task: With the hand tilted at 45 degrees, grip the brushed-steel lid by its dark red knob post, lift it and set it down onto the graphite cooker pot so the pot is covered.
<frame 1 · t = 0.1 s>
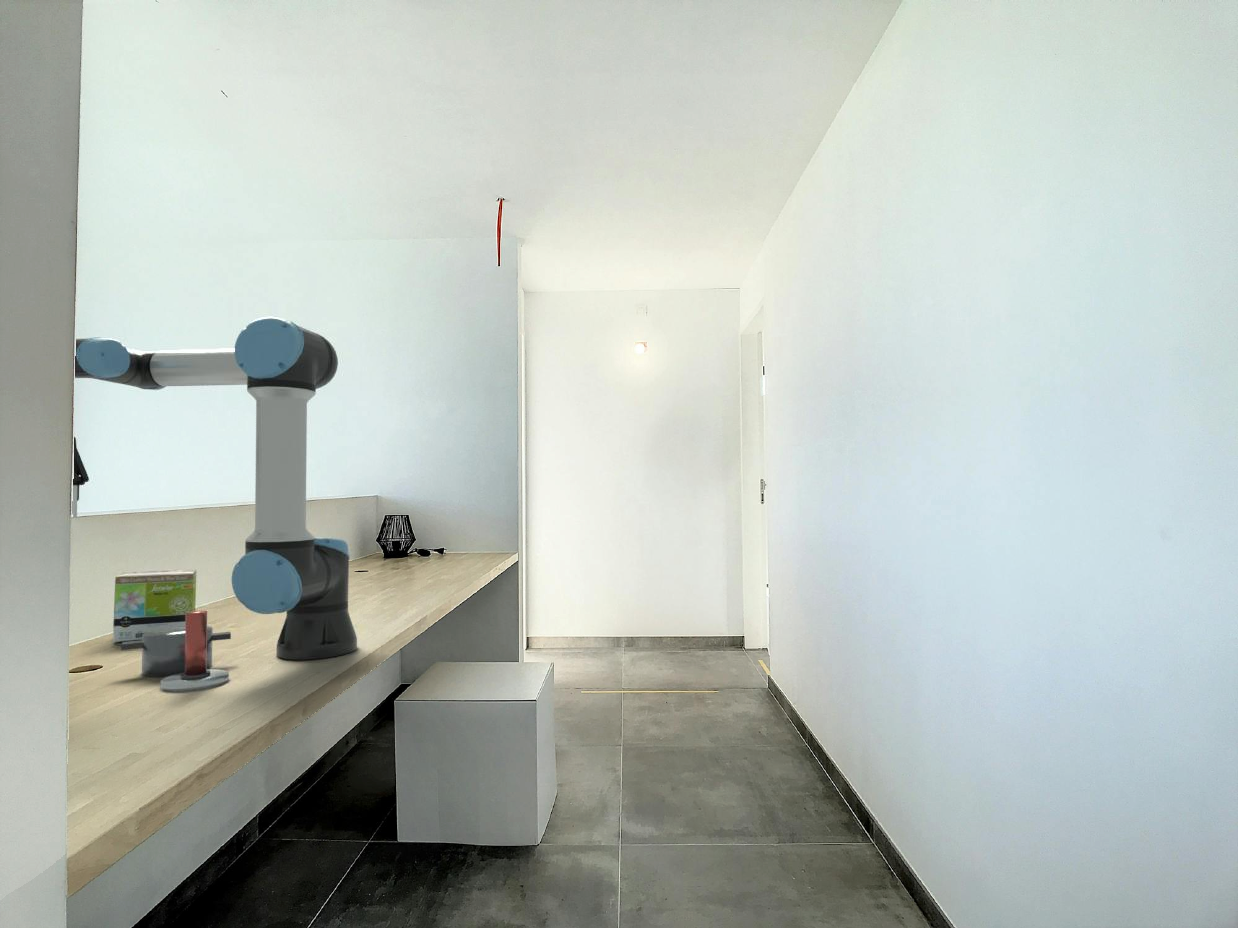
hand: (38, 519, 135), 28 cm above the table, tool pointing down, fingers open, 13 cm apart
pot: (177, 669, 130), on the table
tea box: (156, 637, 161), on the table
lid: (195, 683, 120), on the table
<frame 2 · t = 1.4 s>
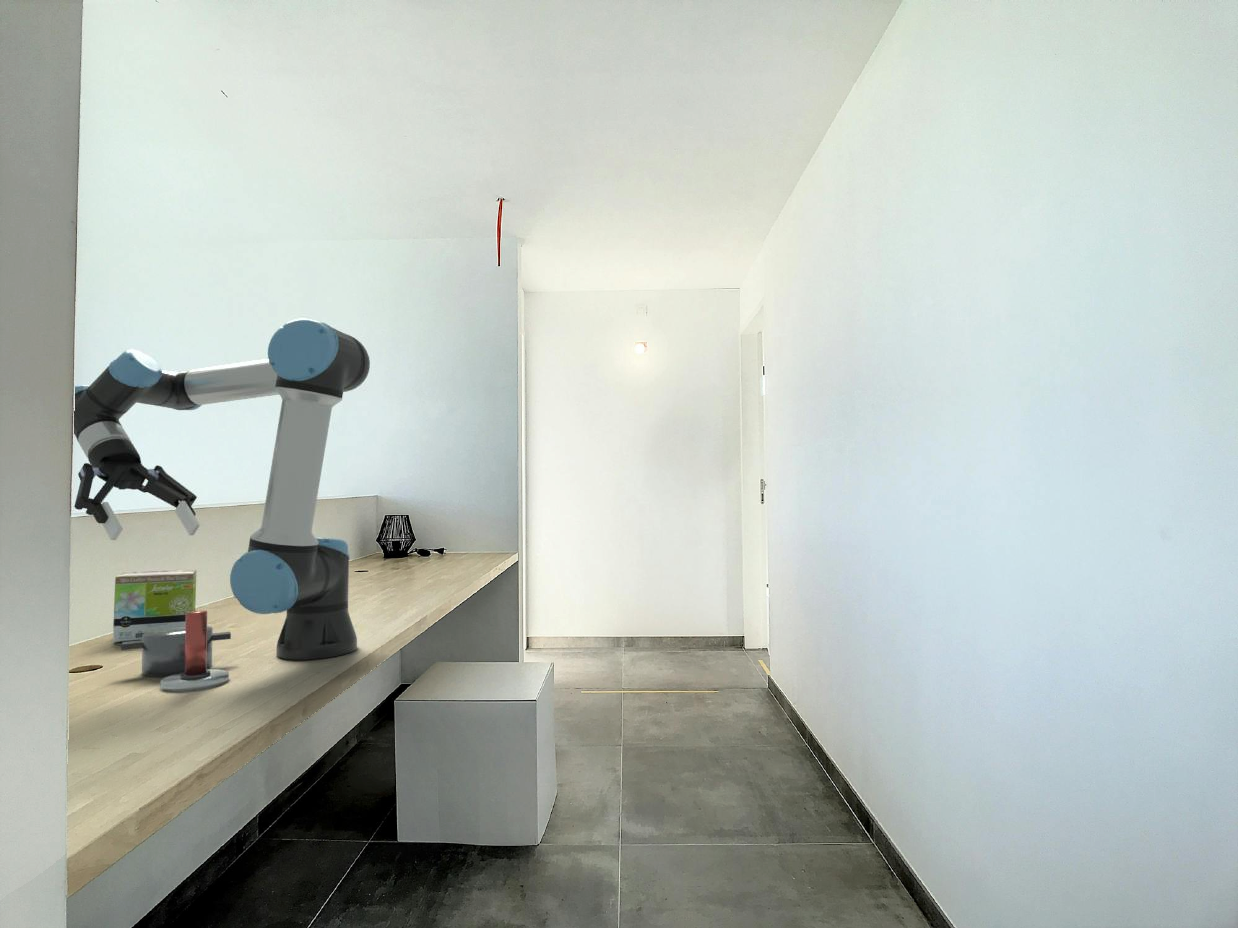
hand: (158, 532, 126), 26 cm above the table, tool tilted 45°, fingers open, 13 cm apart
nothing on the table moved.
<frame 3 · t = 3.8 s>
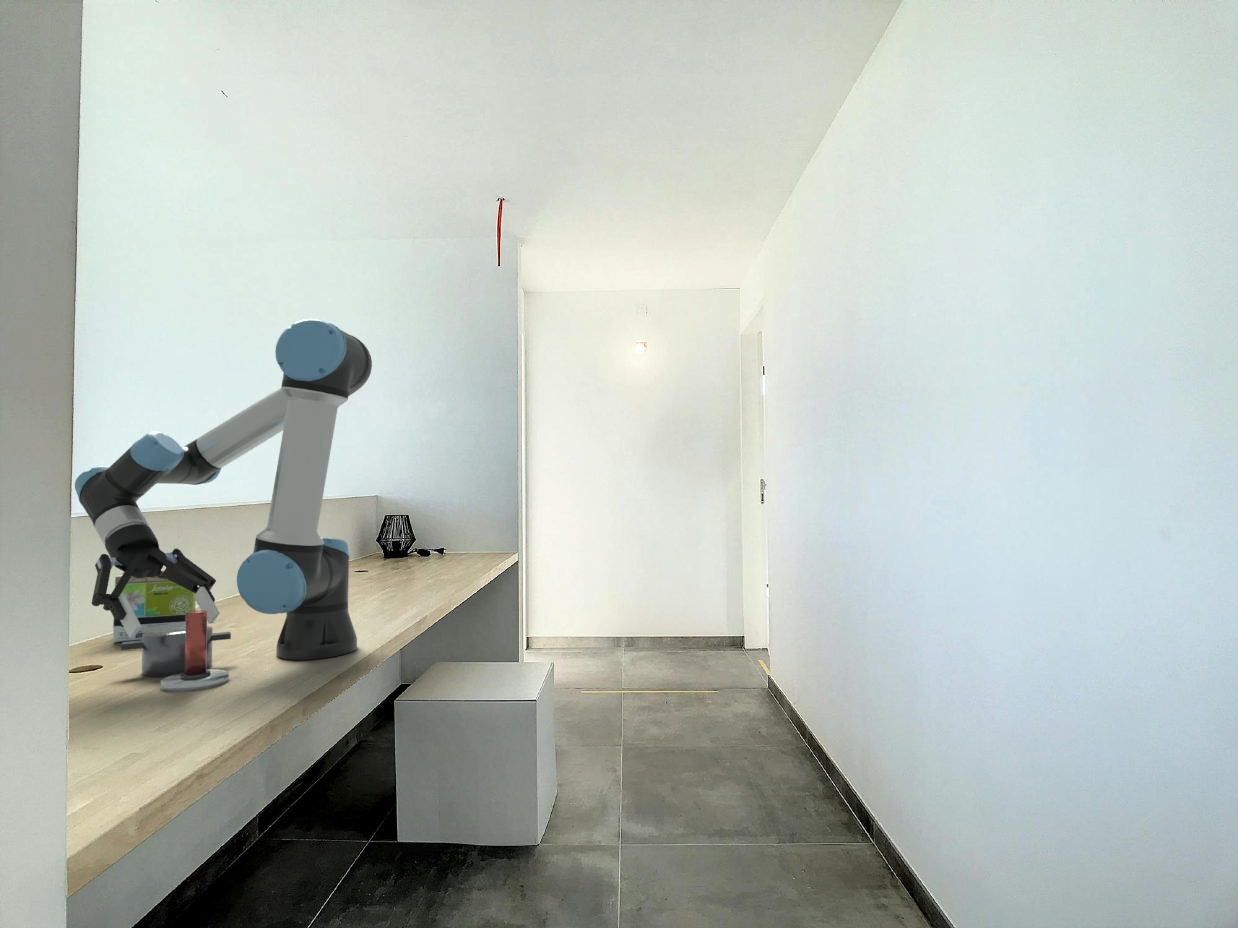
hand: (177, 625, 121), 10 cm above the table, tool tilted 45°, fingers open, 13 cm apart
nothing on the table moved.
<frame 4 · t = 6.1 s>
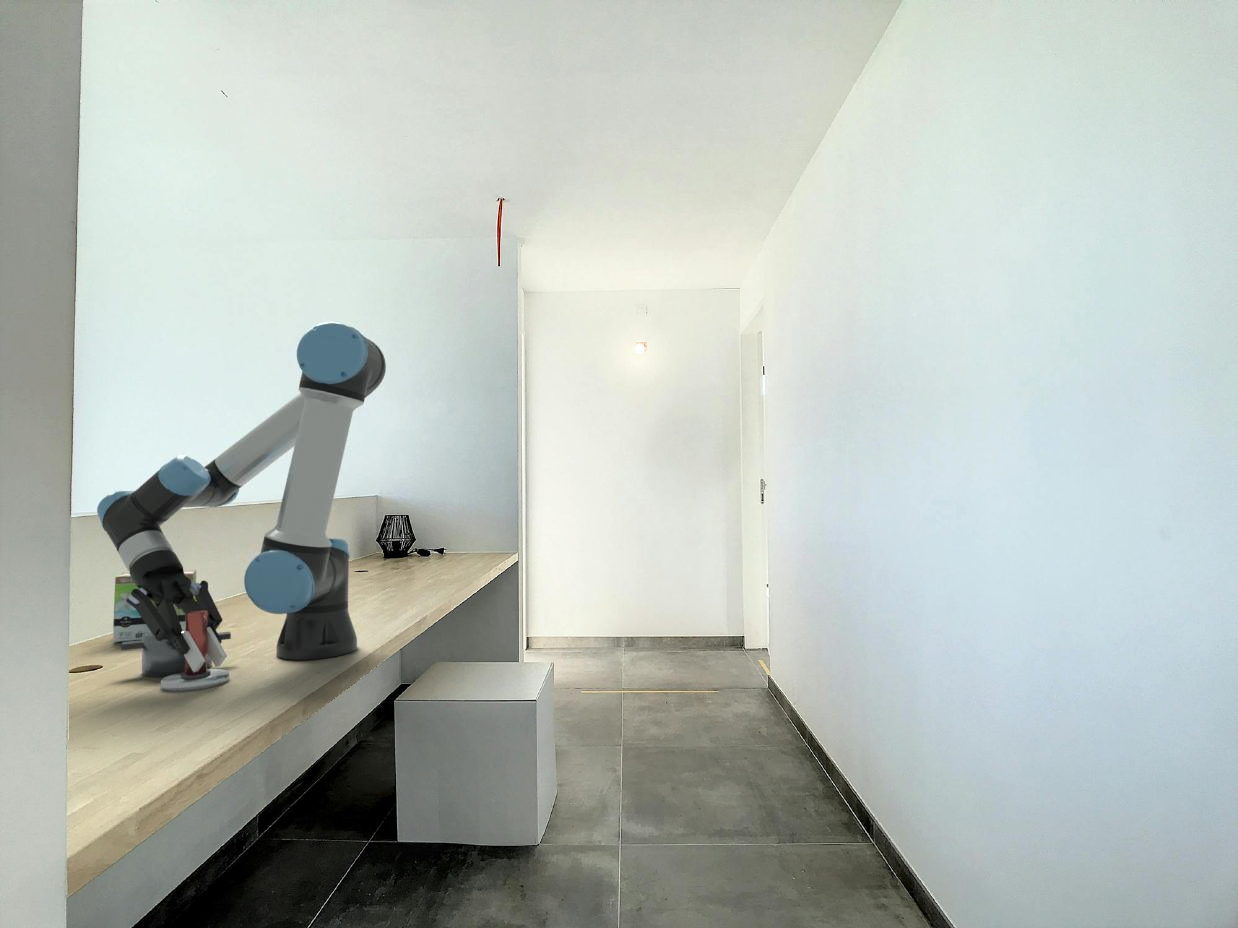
hand: (210, 663, 118), 4 cm above the table, tool tilted 45°, fingers closed on lid, 3 cm apart
lid: (195, 683, 120), on the table, touching gripper
everything else where it was.
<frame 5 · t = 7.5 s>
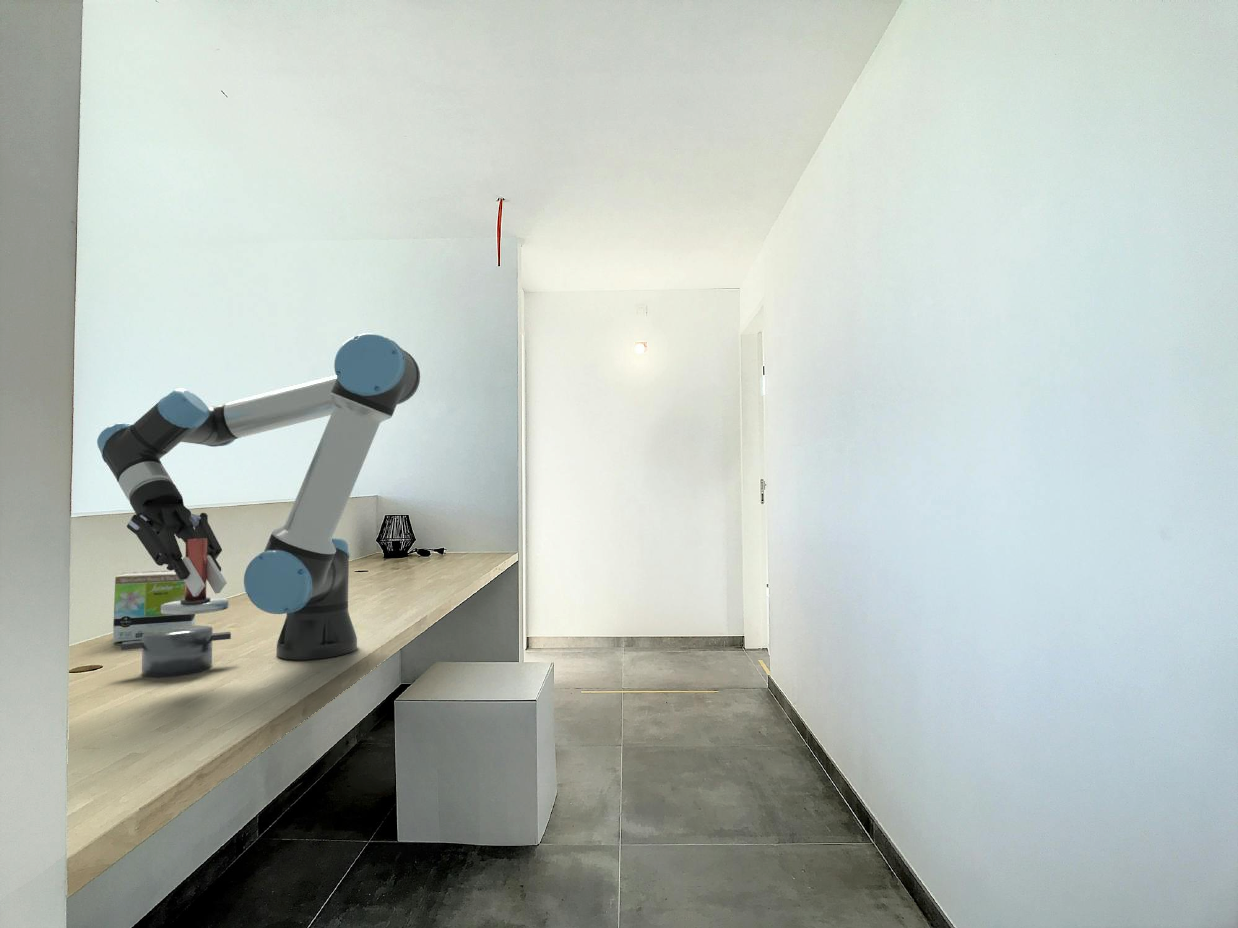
hand: (210, 589, 119), 16 cm above the table, tool tilted 45°, fingers closed on lid, 3 cm apart
lid: (195, 609, 121), point 12 cm above the table, touching gripper
everything else where it was.
when the fingers open (12 cm above the table, at t = 9.3 s): lid drops 1 cm, resting on pot.
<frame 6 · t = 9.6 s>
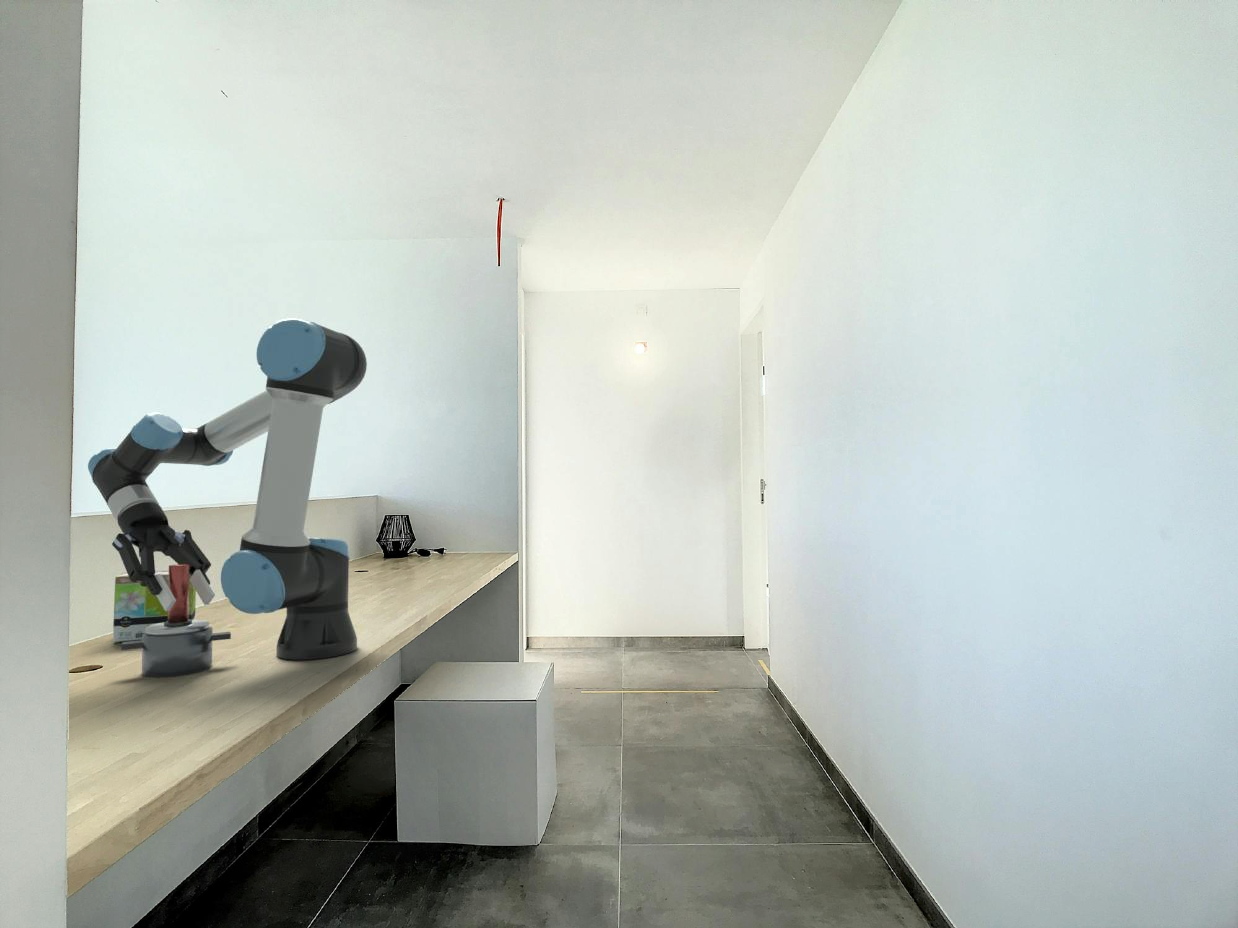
hand: (190, 602, 128), 12 cm above the table, tool tilted 45°, fingers open, 7 cm apart
lid: (177, 631, 130), point 7 cm above the table, touching pot
everything else where it was.
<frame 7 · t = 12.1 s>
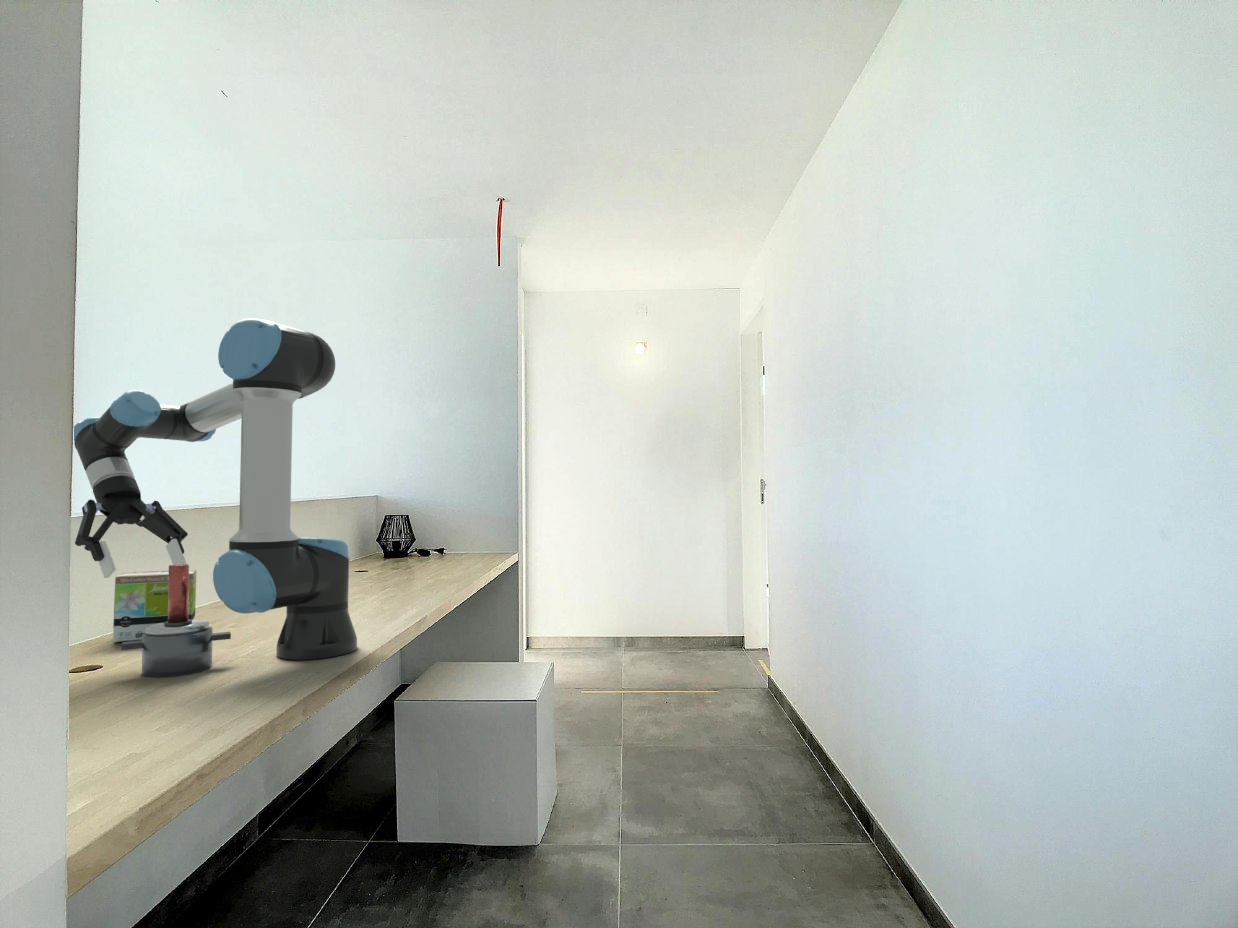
hand: (147, 571, 138), 17 cm above the table, tool tilted 35°, fingers open, 13 cm apart
nothing on the table moved.
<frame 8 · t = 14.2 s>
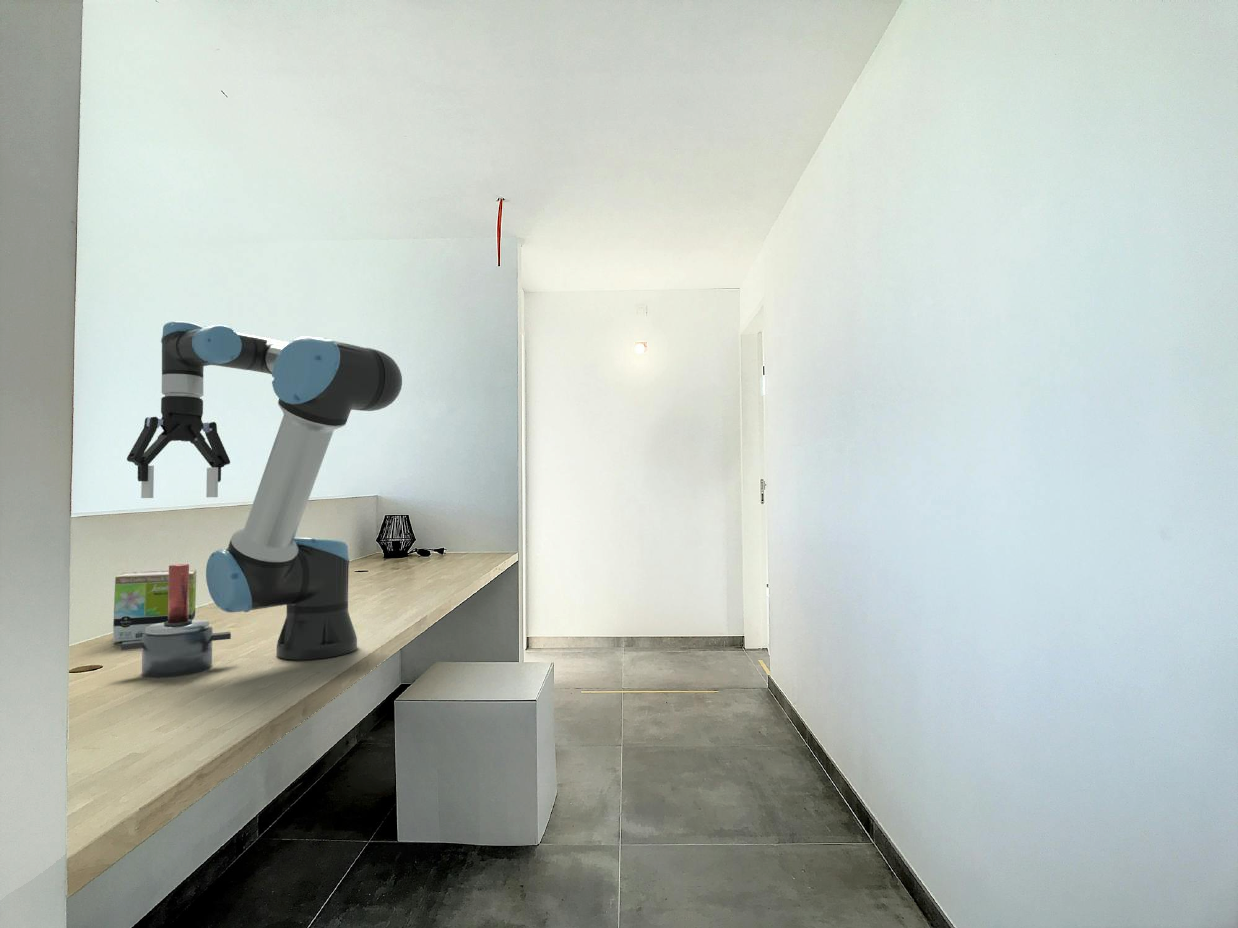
hand: (181, 497, 147), 32 cm above the table, tool pointing down, fingers open, 13 cm apart
nothing on the table moved.
at the end: lid 0.0 cm from the pot (horizontally); lid point 7.0 cm above the table; lid tilted 0° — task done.
